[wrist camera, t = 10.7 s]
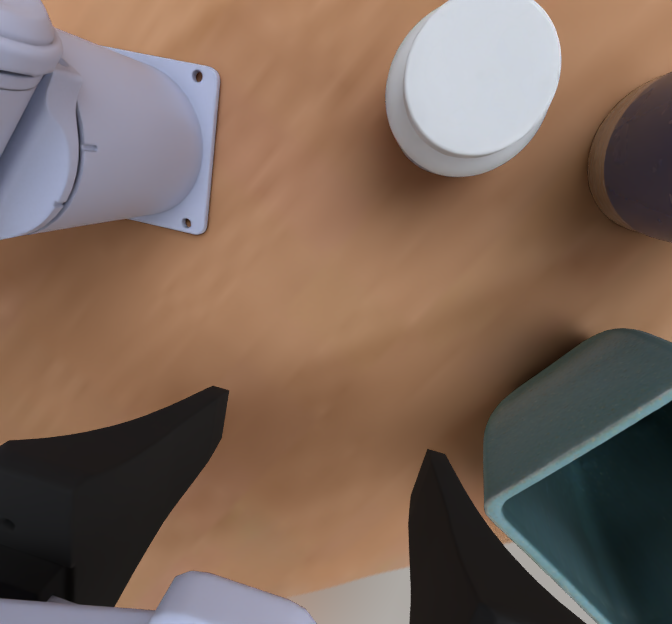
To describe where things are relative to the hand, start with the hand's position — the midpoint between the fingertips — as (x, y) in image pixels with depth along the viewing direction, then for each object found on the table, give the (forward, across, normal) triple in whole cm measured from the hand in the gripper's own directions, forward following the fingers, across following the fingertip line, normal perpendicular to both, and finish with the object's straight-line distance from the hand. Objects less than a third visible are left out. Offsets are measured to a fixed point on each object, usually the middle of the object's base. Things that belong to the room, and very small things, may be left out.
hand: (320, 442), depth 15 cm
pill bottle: (+10, -2, -12) cm, 15 cm away
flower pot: (+10, -12, 0) cm, 15 cm away
